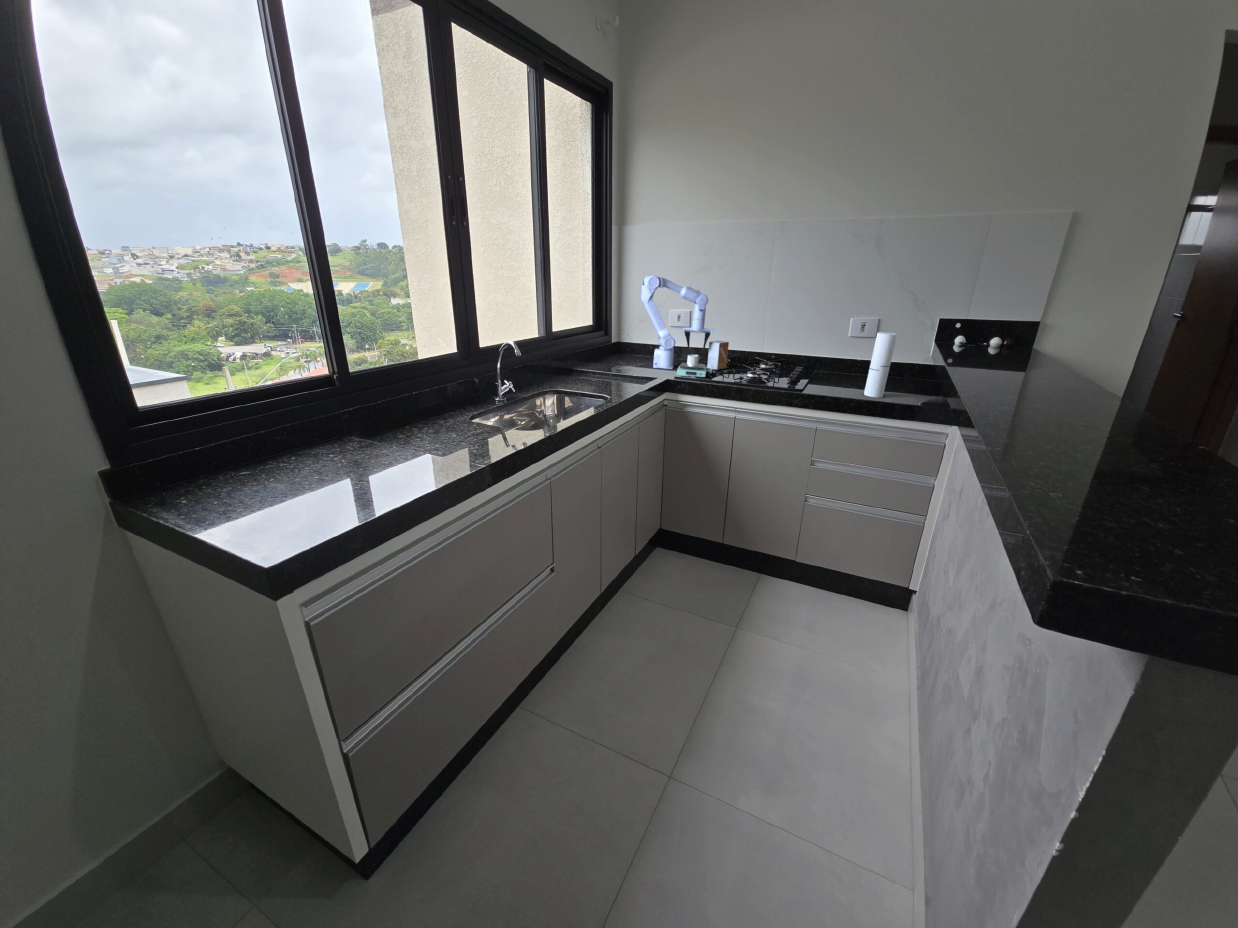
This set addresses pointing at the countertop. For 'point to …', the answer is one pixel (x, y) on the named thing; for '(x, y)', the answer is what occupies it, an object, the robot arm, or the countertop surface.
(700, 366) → the scale pan
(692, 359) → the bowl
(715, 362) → the small box
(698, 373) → the scale
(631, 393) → the countertop surface
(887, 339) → the cylindrical container
